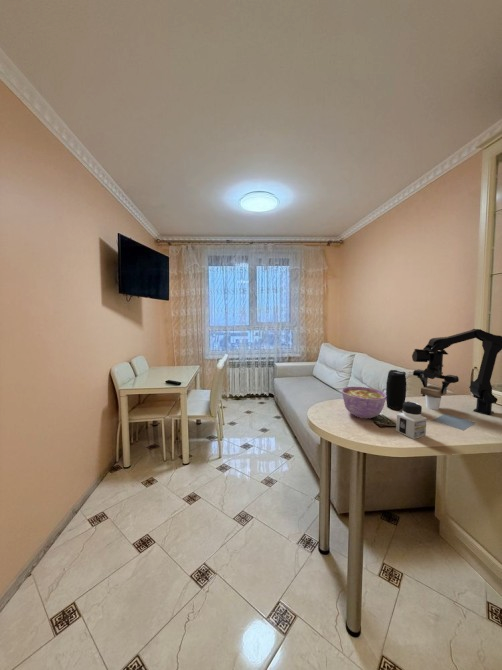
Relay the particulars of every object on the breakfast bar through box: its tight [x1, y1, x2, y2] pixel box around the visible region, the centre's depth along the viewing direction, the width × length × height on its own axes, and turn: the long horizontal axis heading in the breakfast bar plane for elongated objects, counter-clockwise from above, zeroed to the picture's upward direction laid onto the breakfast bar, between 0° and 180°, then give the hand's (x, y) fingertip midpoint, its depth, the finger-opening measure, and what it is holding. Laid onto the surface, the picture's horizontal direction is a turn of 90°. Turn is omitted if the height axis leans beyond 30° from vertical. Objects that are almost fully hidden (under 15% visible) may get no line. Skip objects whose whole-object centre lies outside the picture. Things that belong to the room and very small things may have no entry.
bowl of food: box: [341, 386, 387, 419], centre depth 123 cm, size 20×20×12 cm
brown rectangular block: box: [420, 384, 448, 397], centre depth 132 cm, size 11×7×3 cm
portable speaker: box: [385, 369, 407, 411], centre depth 133 cm, size 9×9×20 cm
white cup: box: [425, 395, 442, 411], centre depth 133 cm, size 7×7×7 cm
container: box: [395, 401, 428, 440], centre depth 104 cm, size 8×8×13 cm
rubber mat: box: [431, 413, 477, 431], centre depth 116 cm, size 15×12×1 cm
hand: (433, 391), depth 132 cm, fingers closed on brown rectangular block, 7 cm apart
